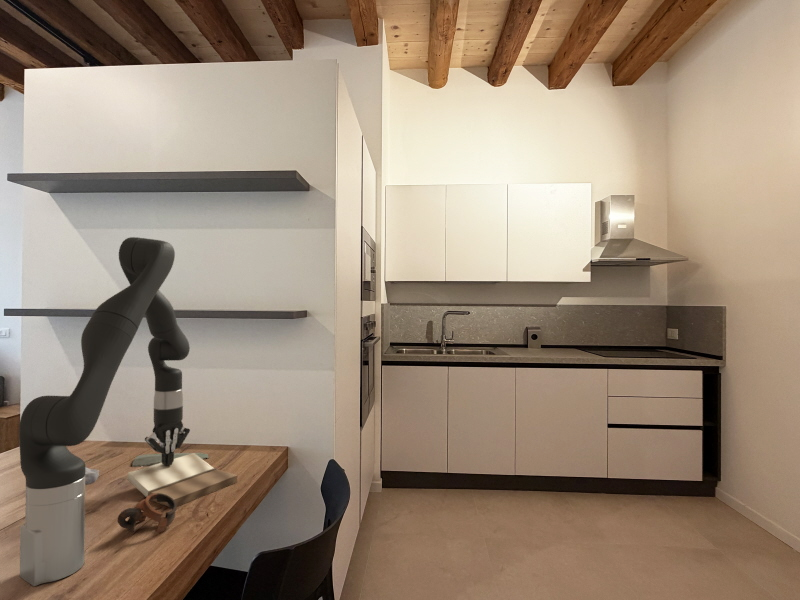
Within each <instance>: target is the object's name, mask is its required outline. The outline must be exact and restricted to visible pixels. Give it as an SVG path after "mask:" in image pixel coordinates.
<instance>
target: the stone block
mask: <svg viewBox="0 0 800 600" xmlns="http://www.w3.org/2000/svg"><path fill="white" fill-rule="evenodd" d="M85 468H86V469H85V486H86V485H90V484H93V483H95V482H96V481H97V480H98V478H99V477H100V476H99V474H100V473H99V472H100V471H99V469H96V468H94V469H92V468H88V467H87V466H85Z"/></svg>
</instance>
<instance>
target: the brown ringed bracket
mask: <svg viewBox="0 0 800 600" xmlns="http://www.w3.org/2000/svg"><path fill="white" fill-rule="evenodd" d="M145 497H146V496H145ZM152 499H157V502H167V503H168V504H169V507H168V508H169V509H171V510H169V511H166V512H165V514H164V515H165V516H163V512H162V511H160V510H157V509H156V508H153V507H152V506H151V504H150V501H152ZM157 502H156V503H157ZM177 507H178V506H177V505H176V502H175V501H174V500H173V498H171V497H170V496H168V495H166V494H162V493H154V494H150V495H149V496H147V497H146V498H145V499H142V500H140V501H139V502H138V503H136V505H134V507H128V508H126V509H124V510H122V511H121V512H120V513H119V514H118V516H117V523H118V525H119V526H120V527H121V528H122V529H127V530H126V531H128V532H134V531H135V527H136V523H137V522H144V521H146V519H150V520H153V521H154V522H158V526H157V528H156V529H155V533H157V534H161V533H163V532H164V531H165V530H166V527H169V526H170V525H171V524H172V523H173V521H174V520H175V518H176V511H177ZM127 518H128V520H126V519H127Z"/></svg>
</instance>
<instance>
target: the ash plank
mask: <svg viewBox="0 0 800 600" xmlns="http://www.w3.org/2000/svg"><path fill="white" fill-rule="evenodd" d="M191 453H192V454H188V455H185V456H182V457H178V458H175V459H174V461H173V462H172V465H169V466H165V465H163V464H162V463H159V464H154V465H148V466H145V467H141V468H140V469H136V470H132V471H129V472H128V473H127V479H126V480H127V481H129V483H130V484H131V485H133V486H134V487H135V488H136V489H137V490H138V491H139V492H140V493H141V494H142V495H143V496H144V497H147V496H149V491H151V490H154V489H157V488H160V487H163V486H166V485H169V484H171V483H174V482H177V481H180V480H183V479H186V478H188V477H191V476H194V475H197V474H200V473H203V472H206V471H208V470H211V469H214V466H212V465H210V464H209V463H208V462H207V461H205V459H201V458H200V457H199V456H197V455H196V454H195V453H196V452H191Z"/></svg>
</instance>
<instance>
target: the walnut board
mask: <svg viewBox="0 0 800 600" xmlns="http://www.w3.org/2000/svg"><path fill="white" fill-rule="evenodd" d="M213 468H214V467H213ZM236 483H238V475H237V474H234V473H231V472H228V471H224V470H221V469H217V468H214V469H211V470H208V471H206V472H203V473H200V474H197V475H194V476H191V477H188V478H186V479H183V480H180V481H177V482H174V483H171V484H169V485H166V486H163V487H160V488H157V489H154V490H151V491H149V495H150V494H154V493H162V494H166V495H168V496H170V497H171V498H173V500H174V501H175V502H176V505H177V507H179V506H181V505H183V504H187V503H189V502H191V501H194V500H196V499H199V498H202V497H204V496H206V494H207V495H208V494H211V492H212V493H214V492H216V491H219V490H222V489H224V488H226V487H229V486H232V485H234V484H236ZM201 496H202V497H201ZM151 501H152V502H155V503H158V504H160V505H163V506H166V507H168V508H169V504H168V503H167V502H157V499H152V500H151Z"/></svg>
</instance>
